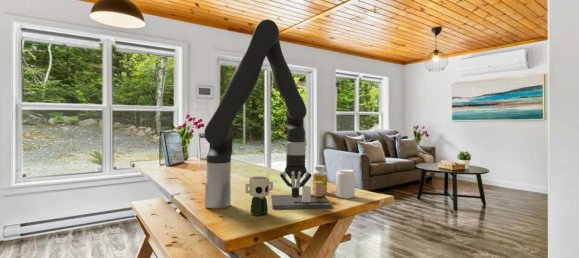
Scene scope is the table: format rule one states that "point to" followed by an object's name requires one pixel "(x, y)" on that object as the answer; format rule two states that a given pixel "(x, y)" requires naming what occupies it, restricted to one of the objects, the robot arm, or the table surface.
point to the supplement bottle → (320, 177)
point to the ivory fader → (306, 194)
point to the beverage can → (345, 183)
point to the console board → (299, 202)
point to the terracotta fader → (318, 188)
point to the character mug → (259, 193)
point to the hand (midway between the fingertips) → (295, 197)
